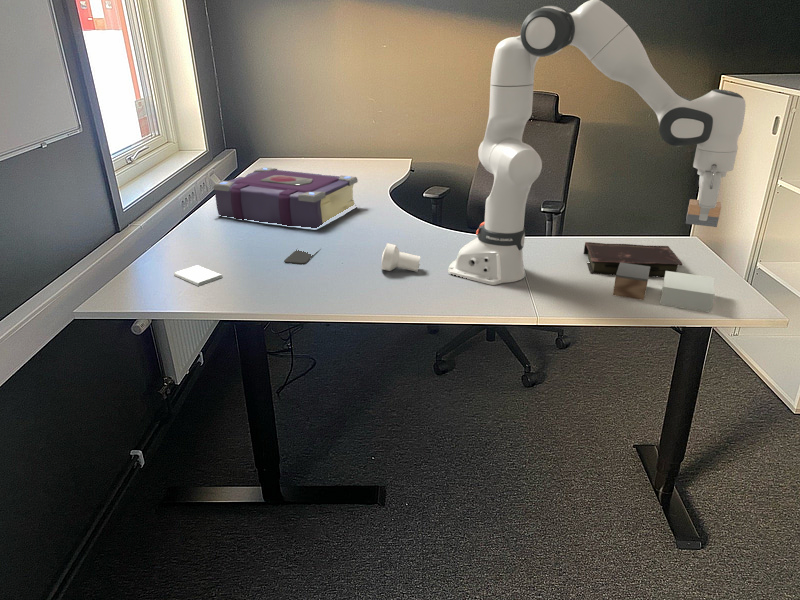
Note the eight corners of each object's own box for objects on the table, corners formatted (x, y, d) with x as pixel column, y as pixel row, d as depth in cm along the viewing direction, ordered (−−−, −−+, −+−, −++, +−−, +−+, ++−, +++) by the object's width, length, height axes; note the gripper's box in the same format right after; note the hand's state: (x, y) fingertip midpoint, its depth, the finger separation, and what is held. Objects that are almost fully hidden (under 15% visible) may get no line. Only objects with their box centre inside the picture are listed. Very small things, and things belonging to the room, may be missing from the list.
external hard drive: (198, 288, 172) (174, 277, 180) (223, 279, 178) (198, 269, 185) (197, 282, 172) (173, 272, 179) (222, 274, 177) (197, 264, 185)
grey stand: (659, 304, 159) (663, 286, 157) (662, 287, 169) (665, 270, 167) (710, 312, 155) (714, 294, 153) (709, 294, 165) (713, 277, 162)
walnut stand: (612, 295, 164) (615, 274, 162) (616, 282, 173) (619, 262, 170) (644, 300, 161) (647, 279, 159) (646, 286, 170) (650, 266, 167)
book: (314, 233, 215) (312, 194, 209) (213, 218, 232) (208, 182, 226) (358, 208, 242) (357, 173, 237) (265, 197, 259) (262, 164, 254)
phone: (321, 247, 200) (305, 263, 186) (321, 249, 200) (305, 265, 187) (300, 245, 201) (282, 261, 188) (300, 248, 202) (282, 263, 188)
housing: (716, 227, 150) (721, 205, 147) (685, 223, 152) (690, 202, 150) (716, 221, 154) (720, 200, 151) (686, 218, 156) (690, 197, 154)
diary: (583, 255, 195) (585, 240, 193) (665, 259, 191) (667, 244, 189) (590, 276, 178) (592, 260, 176) (680, 281, 174) (683, 265, 172)
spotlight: (382, 259, 186) (386, 237, 182) (418, 268, 186) (423, 246, 181) (378, 274, 180) (382, 251, 175) (415, 282, 180) (420, 260, 175)
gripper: (730, 171, 137) (717, 230, 143) (727, 154, 154) (715, 207, 159) (699, 168, 139) (688, 226, 145) (699, 152, 156) (689, 204, 162)
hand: (702, 216), depth 152 cm, fingers closed on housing, 5 cm apart
